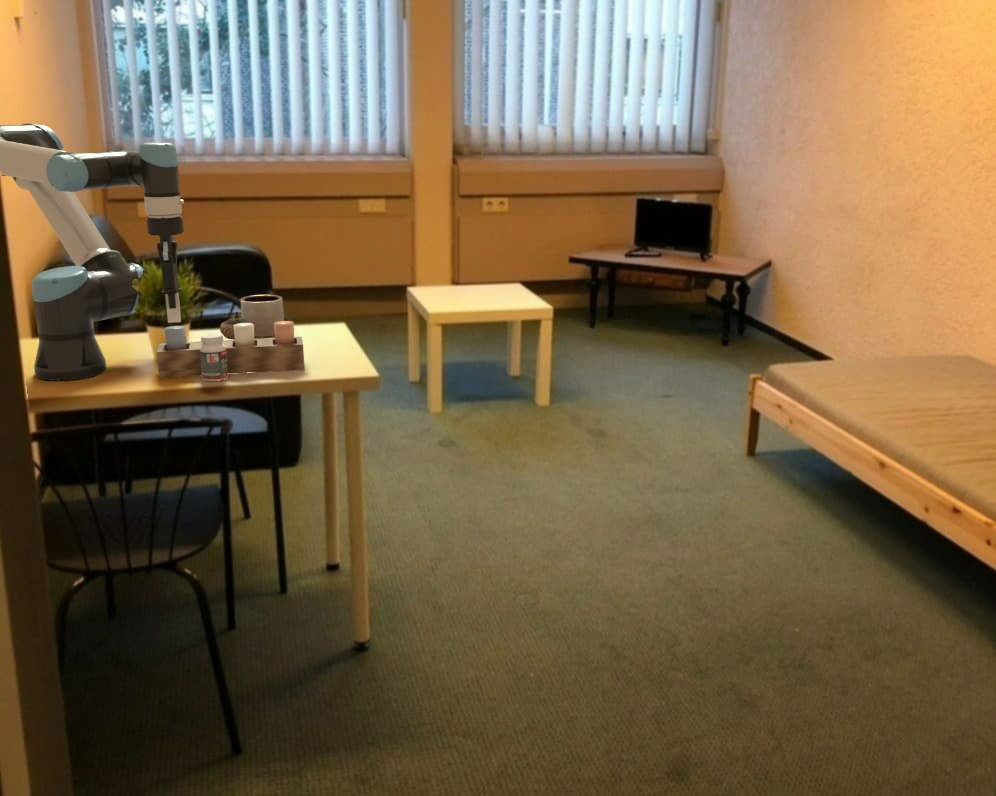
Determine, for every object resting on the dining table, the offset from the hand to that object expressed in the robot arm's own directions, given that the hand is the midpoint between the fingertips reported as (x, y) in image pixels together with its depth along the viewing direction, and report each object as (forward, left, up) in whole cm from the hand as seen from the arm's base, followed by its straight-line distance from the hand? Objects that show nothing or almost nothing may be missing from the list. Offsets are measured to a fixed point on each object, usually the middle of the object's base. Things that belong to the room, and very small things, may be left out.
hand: (174, 321), depth 227 cm
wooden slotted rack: (+12, 0, -12) cm, 17 cm away
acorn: (+13, +18, -12) cm, 25 cm away
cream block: (+15, 0, -7) cm, 17 cm away
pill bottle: (+8, -7, -12) cm, 16 cm away
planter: (+19, +36, -12) cm, 42 cm away
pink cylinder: (+24, 0, -7) cm, 25 cm away
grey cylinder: (0, 0, -7) cm, 7 cm away
